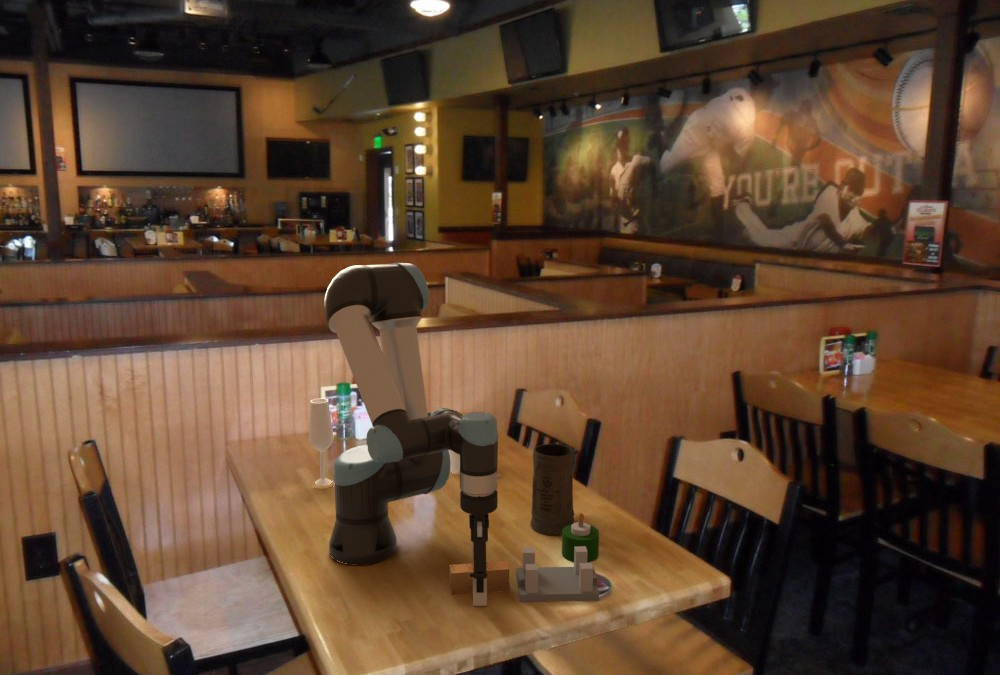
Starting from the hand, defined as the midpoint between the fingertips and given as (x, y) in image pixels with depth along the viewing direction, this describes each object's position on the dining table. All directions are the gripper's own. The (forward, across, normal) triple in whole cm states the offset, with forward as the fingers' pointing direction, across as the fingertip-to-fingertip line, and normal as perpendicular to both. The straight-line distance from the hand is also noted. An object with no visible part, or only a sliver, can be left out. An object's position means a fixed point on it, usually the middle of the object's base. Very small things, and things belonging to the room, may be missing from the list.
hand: (479, 587), depth 159 cm
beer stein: (0, +31, -19) cm, 36 cm away
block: (0, 0, 0) cm, 0 cm away
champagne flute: (0, +57, +42) cm, 71 cm away
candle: (0, +14, -23) cm, 27 cm away
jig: (0, 0, -16) cm, 16 cm away
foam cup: (0, +66, +4) cm, 66 cm away
